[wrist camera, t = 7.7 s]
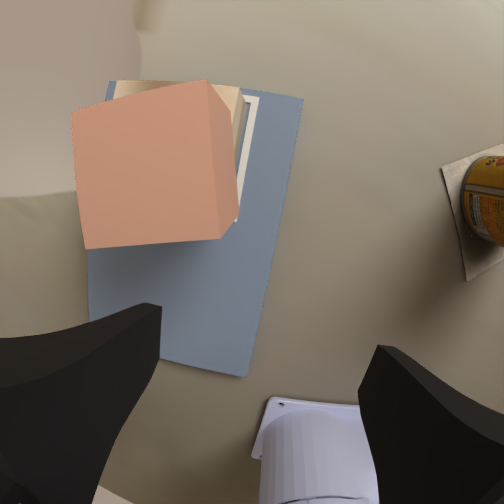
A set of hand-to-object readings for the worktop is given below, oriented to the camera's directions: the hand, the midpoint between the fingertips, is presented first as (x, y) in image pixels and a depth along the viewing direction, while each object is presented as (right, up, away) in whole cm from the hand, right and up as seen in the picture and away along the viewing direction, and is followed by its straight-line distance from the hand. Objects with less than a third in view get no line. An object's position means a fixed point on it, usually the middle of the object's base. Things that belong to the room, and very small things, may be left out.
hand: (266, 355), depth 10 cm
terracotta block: (-3, +7, +3) cm, 8 cm away
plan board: (-5, +5, +9) cm, 12 cm away
